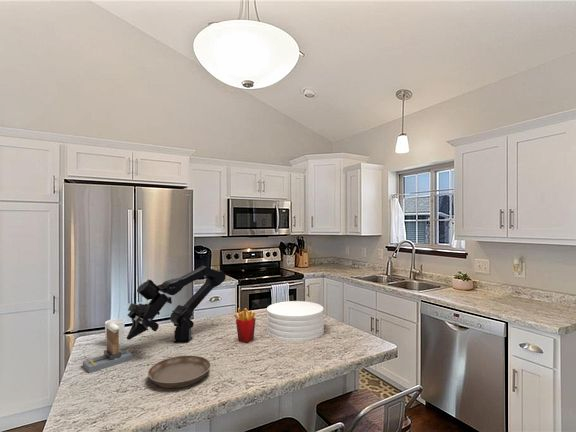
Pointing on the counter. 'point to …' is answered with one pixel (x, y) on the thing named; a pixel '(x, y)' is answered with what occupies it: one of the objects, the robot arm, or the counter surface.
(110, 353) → the slide lever
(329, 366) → the counter surface
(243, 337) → the french fries
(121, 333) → the white cup
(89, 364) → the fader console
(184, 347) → the counter surface
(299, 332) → the plate stack
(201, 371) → the plant saucer
